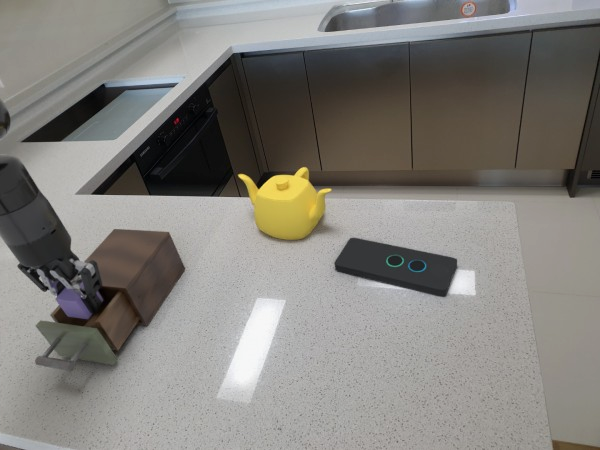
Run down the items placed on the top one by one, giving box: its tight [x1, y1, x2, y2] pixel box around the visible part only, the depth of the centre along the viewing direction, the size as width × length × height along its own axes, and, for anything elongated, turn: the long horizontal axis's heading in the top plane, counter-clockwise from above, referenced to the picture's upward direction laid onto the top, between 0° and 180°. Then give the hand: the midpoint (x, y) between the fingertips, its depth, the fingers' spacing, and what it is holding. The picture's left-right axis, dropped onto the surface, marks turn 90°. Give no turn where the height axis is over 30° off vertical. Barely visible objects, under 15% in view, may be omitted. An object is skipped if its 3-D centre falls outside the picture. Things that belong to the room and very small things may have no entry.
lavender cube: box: [54, 280, 103, 319], centre depth 74 cm, size 4×4×4 cm
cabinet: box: [71, 228, 186, 327], centre depth 85 cm, size 15×13×10 cm
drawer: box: [34, 289, 140, 372], centre depth 77 cm, size 18×11×8 cm, turn 163°
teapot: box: [237, 166, 332, 241], centre depth 95 cm, size 22×16×11 cm
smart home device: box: [333, 237, 458, 297], centre depth 81 cm, size 8×2×20 cm
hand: (85, 307), depth 75 cm, fingers closed on lavender cube, 4 cm apart
